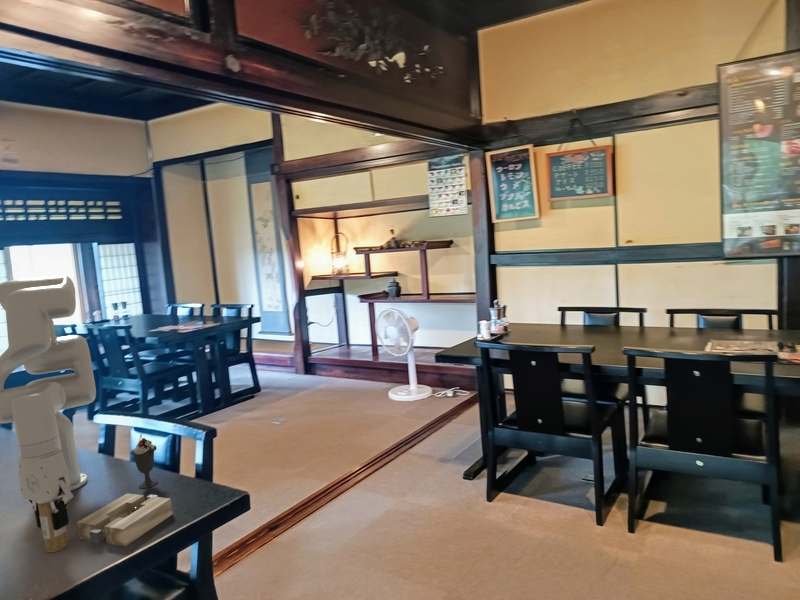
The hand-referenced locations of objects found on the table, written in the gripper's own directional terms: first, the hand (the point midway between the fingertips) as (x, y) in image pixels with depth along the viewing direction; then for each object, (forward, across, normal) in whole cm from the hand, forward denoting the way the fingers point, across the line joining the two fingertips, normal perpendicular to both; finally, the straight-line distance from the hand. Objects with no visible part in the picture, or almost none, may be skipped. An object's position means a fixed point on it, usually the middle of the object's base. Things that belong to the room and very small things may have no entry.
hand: (53, 524), depth 120 cm
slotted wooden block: (+5, +9, +11) cm, 15 cm away
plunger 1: (+4, +9, +6) cm, 12 cm away
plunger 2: (+4, +9, +16) cm, 19 cm away
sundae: (+6, -4, +30) cm, 31 cm away
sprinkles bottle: (+6, 0, 0) cm, 6 cm away
